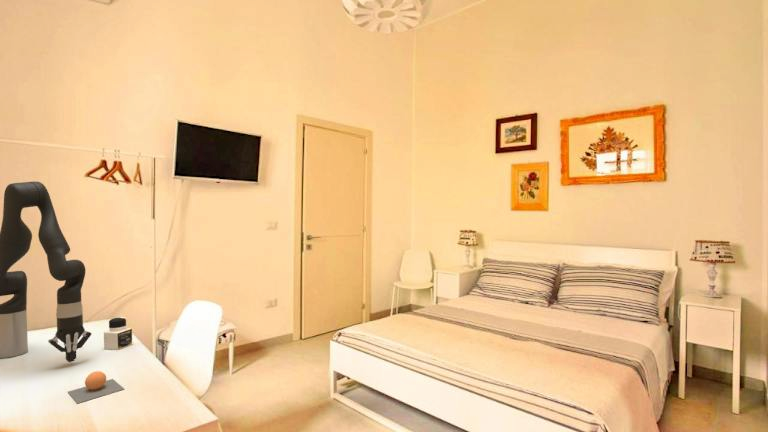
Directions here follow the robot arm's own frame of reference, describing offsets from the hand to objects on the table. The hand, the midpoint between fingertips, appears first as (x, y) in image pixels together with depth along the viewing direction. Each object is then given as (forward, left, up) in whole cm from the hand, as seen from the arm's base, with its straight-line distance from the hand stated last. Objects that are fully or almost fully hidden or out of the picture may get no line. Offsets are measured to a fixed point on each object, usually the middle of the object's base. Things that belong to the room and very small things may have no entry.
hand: (71, 361), depth 146 cm
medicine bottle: (-4, +20, -2) cm, 20 cm away
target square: (+32, -9, -2) cm, 34 cm away
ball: (+31, -9, +1) cm, 32 cm away
